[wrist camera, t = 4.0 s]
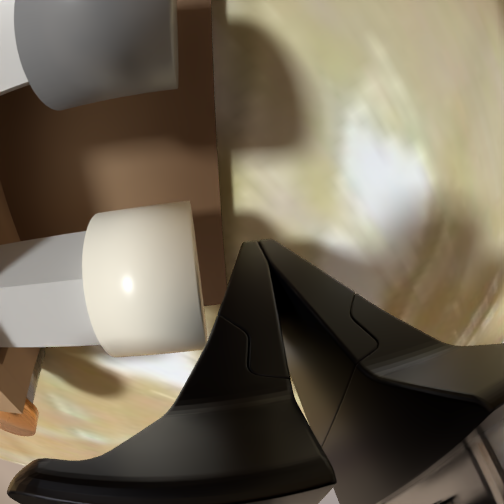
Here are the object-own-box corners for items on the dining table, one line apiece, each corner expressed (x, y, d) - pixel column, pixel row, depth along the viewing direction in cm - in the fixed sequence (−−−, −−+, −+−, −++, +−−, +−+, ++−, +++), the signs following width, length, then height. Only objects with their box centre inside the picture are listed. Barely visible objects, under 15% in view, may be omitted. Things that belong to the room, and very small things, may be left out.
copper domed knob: (35, 325, 13) (10, 404, 9) (60, 366, 14) (47, 439, 11) (-10, 327, 12) (-37, 397, 8) (17, 365, 14) (0, 432, 10)
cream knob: (188, 178, 9) (190, 257, 6) (201, 284, 11) (211, 378, 8) (-49, 223, 7) (-104, 291, 4) (-10, 304, 10) (-43, 378, 7)
